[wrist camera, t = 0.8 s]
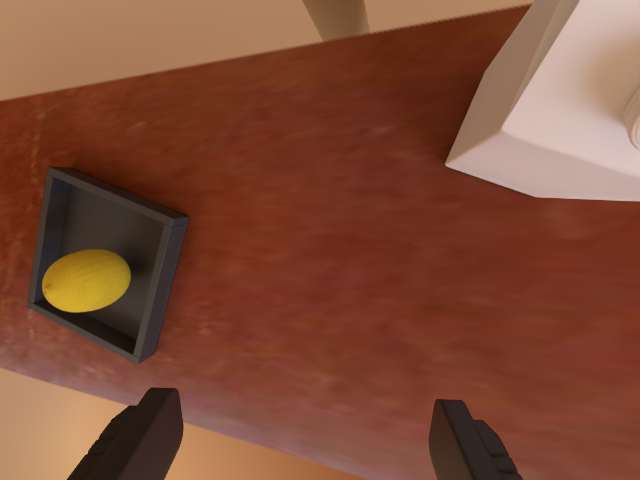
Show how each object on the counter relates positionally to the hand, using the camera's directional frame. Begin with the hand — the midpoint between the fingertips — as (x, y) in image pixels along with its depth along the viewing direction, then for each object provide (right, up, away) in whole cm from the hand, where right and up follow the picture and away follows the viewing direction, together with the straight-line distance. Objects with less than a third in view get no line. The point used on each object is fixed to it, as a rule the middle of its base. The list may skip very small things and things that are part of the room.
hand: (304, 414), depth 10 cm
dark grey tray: (-21, +3, +24) cm, 32 cm away
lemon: (-19, +2, +24) cm, 31 cm away
